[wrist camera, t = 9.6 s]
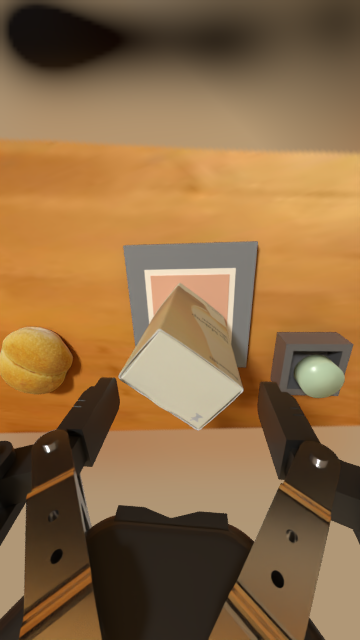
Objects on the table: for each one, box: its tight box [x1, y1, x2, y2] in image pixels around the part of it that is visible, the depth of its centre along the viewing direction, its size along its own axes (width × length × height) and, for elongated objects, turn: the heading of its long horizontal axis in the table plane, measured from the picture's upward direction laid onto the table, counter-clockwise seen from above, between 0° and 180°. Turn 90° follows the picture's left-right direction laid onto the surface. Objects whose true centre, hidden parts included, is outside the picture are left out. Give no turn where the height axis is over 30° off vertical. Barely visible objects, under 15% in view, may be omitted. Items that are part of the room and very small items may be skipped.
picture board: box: [123, 241, 258, 367], centre depth 24 cm, size 13×14×1 cm
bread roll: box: [0, 327, 73, 394], centre depth 27 cm, size 8×9×4 cm
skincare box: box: [119, 283, 244, 430], centre depth 18 cm, size 6×4×12 cm
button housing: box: [271, 332, 353, 396], centre depth 25 cm, size 6×6×3 cm
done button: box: [294, 355, 345, 398], centre depth 22 cm, size 4×4×2 cm
